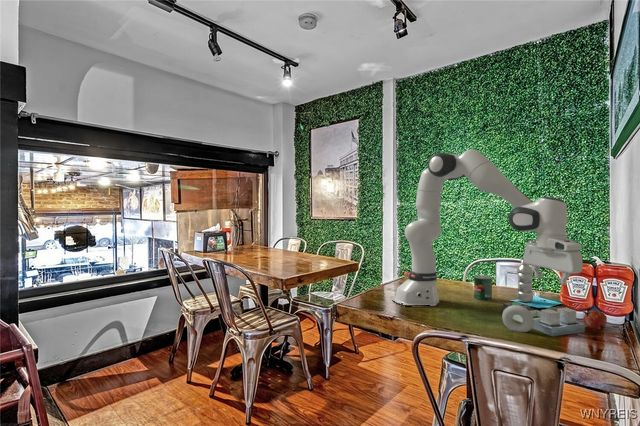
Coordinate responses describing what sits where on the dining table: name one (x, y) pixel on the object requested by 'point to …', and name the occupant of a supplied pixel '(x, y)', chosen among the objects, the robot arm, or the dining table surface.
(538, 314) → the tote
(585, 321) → the pomegranate
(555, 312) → the billet
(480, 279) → the canned tomato
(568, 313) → the block
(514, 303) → the button
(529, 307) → the console
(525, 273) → the plastic bottle
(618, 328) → the dining table surface
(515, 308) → the donut
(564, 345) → the dining table surface
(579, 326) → the pallet
